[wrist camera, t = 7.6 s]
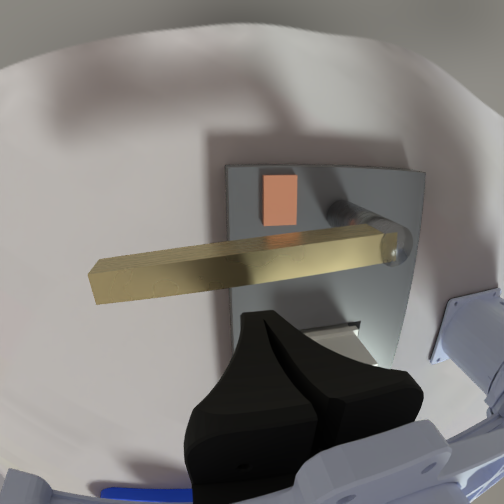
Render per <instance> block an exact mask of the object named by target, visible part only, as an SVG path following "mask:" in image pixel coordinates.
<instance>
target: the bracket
mask: <svg viewBox="0 0 504 504" xmlns="http://www.w3.org/2000/svg"><path fill="white" fill-rule="evenodd" d="M100 498H106V499H115V500H125V501H139V502H166V503H184V502H193V496H192V489H136V488H120V487H111V488H106V489H104V490H102V491H101V496H100Z"/></svg>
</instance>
